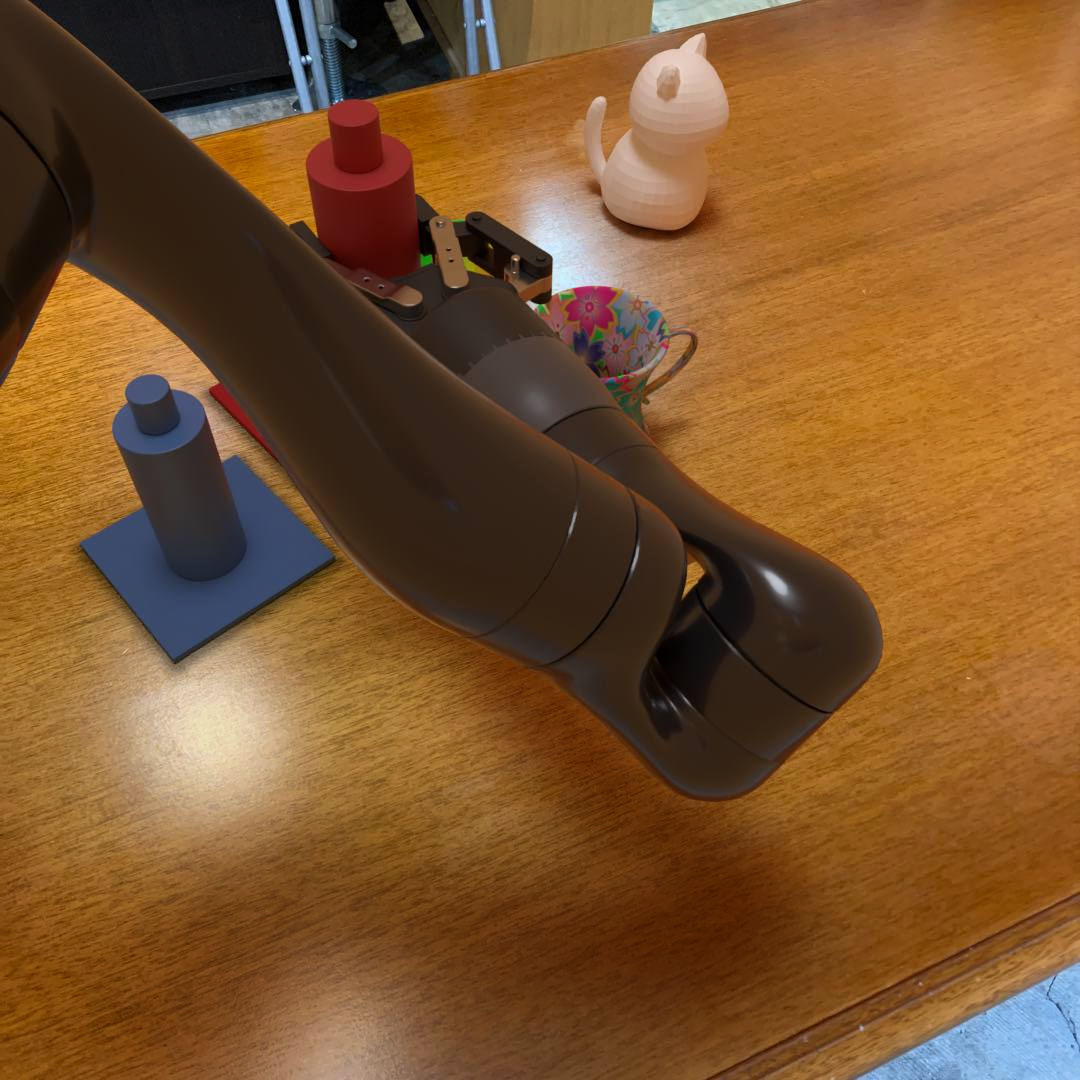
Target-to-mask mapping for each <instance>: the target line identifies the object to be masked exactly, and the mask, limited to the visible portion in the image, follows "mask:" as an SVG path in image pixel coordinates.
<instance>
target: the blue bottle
mask: <svg viewBox="0 0 1080 1080" xmlns="http://www.w3.org/2000/svg"><path fill="white" fill-rule="evenodd" d="M124 396H125V399H126V403H125V404H123V405H122V407H121V408H120V409H119V410H118V411H117V413H116V414H115V416H114V417H113V421H112V424H111V432H112V433H111V434H112V436H113V439H114V442H115V444H116V447H117V448H118V451H119V453H120V456H121V458H122V460H123V462H124V464H125V467H126V470H127V472H128V475H129V476H130V479H131V481H132V483H133V484H132V485H134V488H135V491H136V493H137V495H138V498H139V500H140V502H141V505H142V507H144V509H145V512H146V514H147V516H148V519H149V521H150V523H151V526H152V528H153V530H154V533H155V535H156V537H157V540H158V542H159V544H160V547H161V549H162V551H163V554H164V556H165V559H166V561H167V563H168V565H169V567H170V568H171V570H172V571H173V572H175V573H176V574H177V575H179V576H181V577H183V578H186V579H190V580H197V581H202V580H210V579H214V578H217V577H220V576H222V575H224V574H226V573H228V572H229V571H231V570H232V569H233V568H234V567H236V566H237V565H238V563H239V562H240V561H241V559H242V558H243V556H244V554H245V551H246V546H247V541H246V536H245V533H244V530H243V527H242V524H241V521H240V518H239V515H238V512H237V508H236V505H235V502H234V499H233V496H232V493H231V490H230V487H229V484H228V481H227V477H226V474H225V471H224V468H223V465H222V462H223V461H222V459H221V456H220V452H219V450H218V447H217V443H216V440H215V438H214V434H213V432H212V429H211V425H210V421H209V418H208V415H207V412H206V409H205V407H204V405H203V404H202V402H201V401H200V400H199V398H197V397H196V396H194V395H193V394H191V393H189V392H187V391H183V390H179V389H173V388H171V386H170V383H169V381H168V380H167V379H166V378H165V377H163V376H162V375H159V374H154V373H148V374H143V375H140V376H137V377H135V378H133V379H132V380H130V381H129V383H128V384H127V385H126V387H125V390H124Z"/></svg>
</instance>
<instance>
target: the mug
mask: <svg viewBox="0 0 1080 1080" xmlns="http://www.w3.org/2000/svg"><path fill="white" fill-rule="evenodd" d="M533 310H534V312H535V313H536V314H537V315H538V316H539V317H540V318H541V319H542V320H543V321H544V322H545V323H546V324H547V325H548V326H549V327H550V328H551V329H552V330H553V331H554V332H555V333H556V334H557V335H558V336H559V337H560V338H561V339H562V340H563V341H564V342H565V343H566V344H567V345H568V347H569V348H570V349H571V350H572V351H573V352H574V353H575V354H576V355H577V356H578V357H579V358H580V359H581V360H582V361H583V362H584V363H585V364H586V365H587V366H588V367H589V368H590V369H591V370H592V371H593V372H594V373H595V374H596V375H597V376H598V378H599V379H600V380H601V381H602V382H603V384H604V385H605V386H606V387H607V389H608V390H609V392H610V393H611V394H612V396H613V397H614V399H615V400H616V402H617V403H618V405H619V406H620V407H621V409H622V410H623V411H624V412H625V413H626V415H627V416H628V417H629V418H630V419H631V420H632V421H633V422H634V423H635V424H636V425H637V426H638V427H639V428H640V429H641V430H642V431H643V432H644V433H645V434H646V435H647V436H648V437H649V438H650V439H651V436H650V428H649V426H648V423H647V421H646V418H645V417H644V415H643V409H642V407H643V405H646V406H649V405H650V403H651V401H650V399H649V398H648V396H650V395H651V394H653V393H654V392H656V391H657V390H659V389H661V388H662V387H664V386H665V385H667V384H668V383H669V382H670V381H672V380H673V379H674V378H676V376H677V375H678V374H679V373H680V372H681V371H682V370H683V369H684V368H685V367H686V366H687V365H688V364H689V362H690V361H691V360H692V358H693V357H694V355H695V353H696V351H697V349H698V347H699V336H698V333H697V332H696V331H695V330H694V329H693V328H692V327H691V326H687V325H675V326H672V327H669V325H668V323H667V320H666V318H665V317H664V315H663V314H662V312H661V311H660V310H659V309H658V308H657V307H656V306H655V305H654V304H652V303H651V302H650V301H648V300H647V299H646V298H644V297H642V296H640V295H638V294H637V293H633V292H631V291H628V290H625V289H622V288H619V287H613V286H605V285H584V286H576V287H571V288H568V289H565V290H562V291H561V290H560V291H558V292H556V293H554V294H552V299H551V301H550V302H548V303H546V304H541V305H540V304H537V306H536V307H535V308H534V309H533ZM681 335H686V336H689V337H690V342H689V343H688V345H687V347H686V349H685V350H684V352H683V354H682V355H681V356H680V357H679V358H678V359H677V360H676V362H675V363H674V364H673V365H672V366H671V367H670V368H669V369H668V370H667V371H665V372H664V373H663V374H661V375H659V377H657V378H656V379H654V380H653V381H651V382H650V383H648V381H649V380H650V377H651V376H652V374H653V372H654V371H655V369H656V368H657V367H658V366H659V365H660V364H661V362H662V361H663V360H664V358H665V357H666V355H667V353H668V350H669V347H670V342H671V339H672V338H674V337H677V336H681ZM647 383H648V384H647ZM642 404H643V405H642Z"/></svg>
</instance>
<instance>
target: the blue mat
mask: <svg viewBox="0 0 1080 1080" xmlns="http://www.w3.org/2000/svg"><path fill="white" fill-rule="evenodd" d="M221 462H222V465H223V468H224V471H225V474H226V477H227V481H228V484H229V487H230V490H231V493H232V496H233V499H234V502H235V505H236V508H237V512H238V515H239V518H240V521H241V524H242V527H243V530H244V533H245V536H246V541H247V546H246V551H245V554H244V556H243V558H242V559H241V561H240V562H239V563H238V565H237V566H236V567H234V568H233V569H232V570H231V571H229V572H228V573H226V574H224V575H222V576H220V577H217V578H214V579H210V580H202V581H197V580H190V579H186V578H183V577H181V576H179V575H177V574H176V573H175V572H173V571H172V570H171V568H170V567H169V565H168V563H167V561H166V559H165V556H164V554H163V551H162V549H161V547H160V544H159V542H158V540H157V537H156V535H155V533H154V530H153V528H152V526H151V523H150V521H149V519H148V516H147V514H146V512H145V509H144V507H143V506H142V507H141V508H139V509H137V510H135V511H133V512H132V513H130V514H128V515H126V516H124V517H122V518H120V519H119V520H118V521H116V522H114V523H112V524H110V525H107V527H105V528H103V529H101V530H99V531H98V532H96V533H94V534H92V535H91V536H89V537H87V538H86V539H84V540H82V541H80V542H79V546H80V548H81V549H82V550H83V552H84V553H85V555H87V556H88V557H89V559H90V560H91V561H92V562H93V564H94V565H95V566H96V568H97V569H98V570H99V571H100V572H101V574H102V575H103V576H104V578H106V580H107V581H108V583H109V584H110V585H111V586H112V587H113V588H114V590H115V591H116V593H118V594H119V596H120V597H121V598H122V600H123V601H124V602H125V603H126V605H127V606H128V607H129V608H130V609H131V611H132V612H133V613H134V615H135V616H136V617H137V618H138V620H139V622H141V623H142V625H143V626H144V627H145V629H146V630H147V631H148V632H149V633H150V635H152V637H153V638H154V640H155V641H156V642H157V644H159V646H160V647H161V649H162V650H164V652H165V653H166V654H167V655H168V657H169V658H170V659H171V660H172V662H173V663H175V664H176V663H178V662H180V661H181V660H183V659H184V658H185V657H187V656H189V655H190V654H192V653H193V652H195V651H197V650H199V648H201V647H203V646H204V645H207V644H208V643H209V642H210V641H212V640H213V639H215V638H217V637H218V636H220V635H222V634H223V633H225V632H226V631H228V630H229V629H231V628H232V627H234V626H236V625H237V624H238V623H240V622H242V621H243V620H245V619H247V618H249V617H250V616H252V614H254V613H256V612H257V611H259V610H260V609H262V608H264V607H265V606H267V605H269V604H270V603H271V602H273V601H274V600H276V599H277V598H279V597H281V596H282V595H284V594H286V593H287V592H289V591H290V590H292V589H293V588H295V587H296V586H298V585H300V584H301V583H303V582H304V581H306V580H307V579H308V578H311V577H312V576H313V575H315V574H316V573H318V572H319V571H321V570H322V569H324V568H326V567H327V566H329V565H330V564H332V563H334V562H335V561H337V559H336V556H335V554H334V553H333V552H332V551H331V550H330V549H329V548H328V547H327V546H326V545H325V544H324V543H323V541H321V540H320V539H319V538H318V537H317V536H316V534H315V533H314V532H312V531H311V529H310V528H309V527H307V525H306V524H304V523H303V522H302V520H301V519H300V518H299V517H298V516H297V515H296V514H295V513H294V512H293V511H292V510H291V509H290V508H289V507H288V506H287V505H286V504H285V503H284V502H283V501H282V500H281V498H279V497H278V496H277V495H276V493H274V491H272V490H271V489H270V487H268V486H267V484H266V483H265V482H263V480H261V479H260V477H259V476H258V475H257V474H256V473H255V472H254V471H253V470H252V469H251V468H250V467H249V466H248V464H246V463H245V462H244V461H243V460H242V459H241V458H240V457H239V456H238V454H234V455H232V456H230V457H229V458H227V459H225V460H223V461H221Z"/></svg>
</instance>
